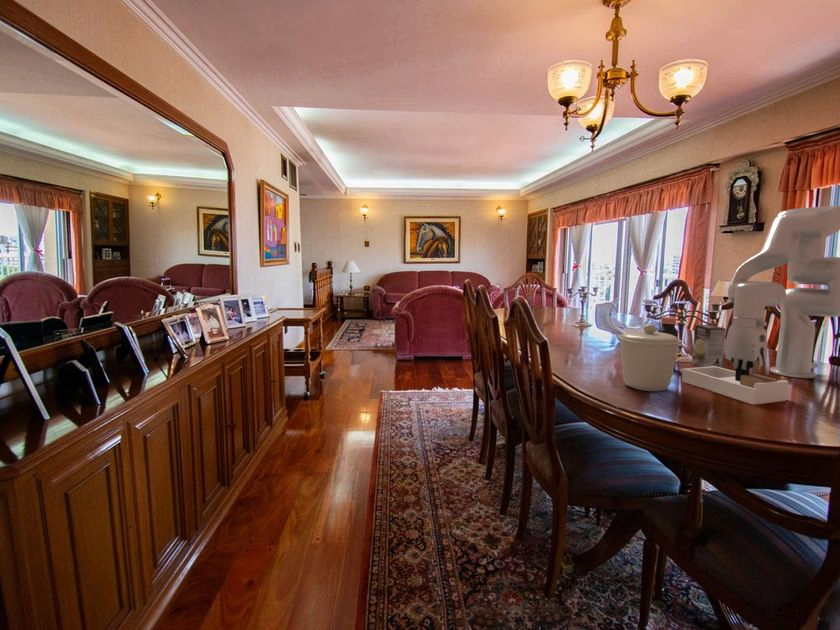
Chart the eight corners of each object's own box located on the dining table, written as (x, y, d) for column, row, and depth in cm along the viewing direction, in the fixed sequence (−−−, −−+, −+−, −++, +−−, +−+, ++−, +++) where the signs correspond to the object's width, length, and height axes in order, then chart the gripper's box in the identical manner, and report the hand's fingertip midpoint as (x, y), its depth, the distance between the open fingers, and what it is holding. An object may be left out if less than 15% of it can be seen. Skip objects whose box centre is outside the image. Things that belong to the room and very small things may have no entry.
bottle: (669, 366, 162) (673, 316, 159) (678, 371, 155) (683, 319, 153) (651, 366, 163) (655, 316, 160) (659, 371, 156) (663, 318, 154)
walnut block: (754, 385, 128) (755, 374, 128) (775, 390, 123) (776, 379, 122) (739, 386, 127) (740, 375, 126) (760, 392, 121) (761, 380, 121)
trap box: (713, 378, 146) (715, 361, 145) (788, 400, 123) (791, 380, 122) (681, 381, 143) (683, 364, 142) (753, 404, 120) (755, 384, 119)
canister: (644, 398, 125) (649, 329, 123) (603, 381, 143) (606, 321, 140) (691, 393, 130) (697, 327, 128) (646, 377, 148) (650, 319, 145)
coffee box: (690, 363, 168) (694, 324, 165) (706, 363, 167) (710, 324, 165) (706, 369, 158) (709, 328, 156) (722, 369, 158) (726, 328, 156)
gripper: (783, 326, 121) (776, 386, 123) (733, 319, 135) (727, 373, 138) (763, 327, 119) (756, 388, 122) (715, 320, 133) (709, 375, 136)
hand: (741, 380), depth 130 cm, fingers closed
